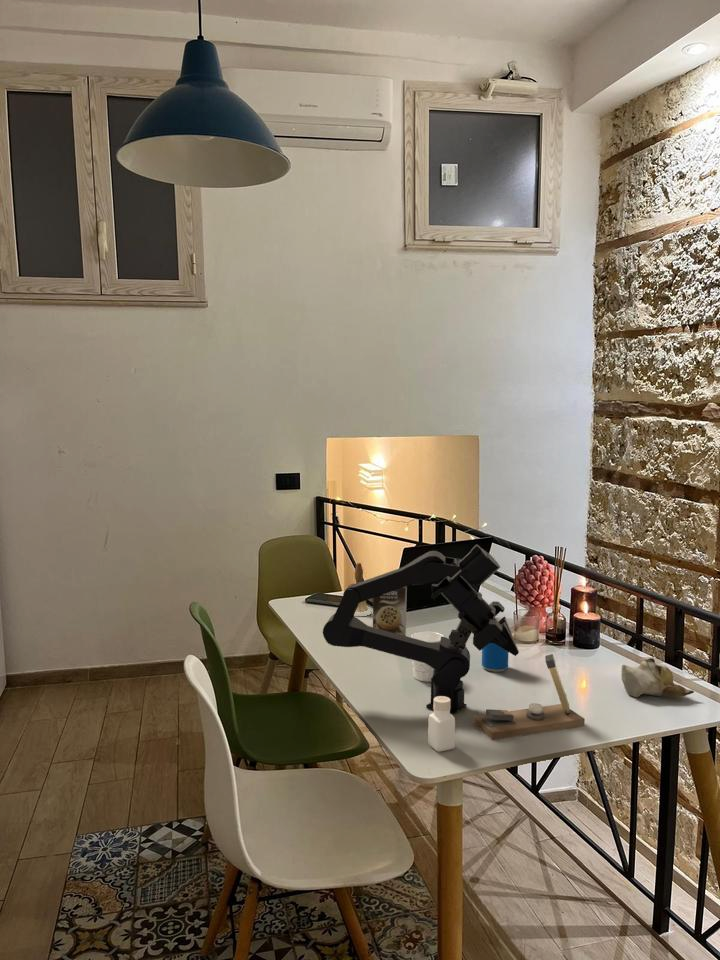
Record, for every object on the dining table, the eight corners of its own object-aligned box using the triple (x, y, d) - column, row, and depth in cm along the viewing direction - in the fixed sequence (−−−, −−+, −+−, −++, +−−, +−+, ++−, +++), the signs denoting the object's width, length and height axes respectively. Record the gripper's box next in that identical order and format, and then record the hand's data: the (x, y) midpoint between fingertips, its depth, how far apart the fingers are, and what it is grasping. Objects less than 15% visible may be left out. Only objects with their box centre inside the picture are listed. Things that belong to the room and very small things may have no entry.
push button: (526, 709, 153) (526, 704, 153) (537, 708, 154) (537, 702, 154) (533, 714, 151) (533, 709, 150) (544, 713, 151) (544, 707, 151)
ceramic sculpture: (612, 650, 172) (672, 651, 174) (608, 686, 173) (668, 686, 175) (634, 666, 161) (698, 667, 163) (630, 705, 162) (694, 705, 164)
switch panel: (473, 723, 152) (473, 713, 152) (561, 710, 159) (562, 700, 159) (492, 740, 145) (492, 729, 145) (584, 725, 151) (584, 715, 151)
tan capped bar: (564, 715, 153) (545, 661, 153) (563, 708, 157) (545, 655, 156) (572, 713, 153) (553, 659, 152) (571, 707, 156) (552, 653, 156)
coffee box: (371, 644, 203) (372, 586, 201) (374, 636, 209) (374, 580, 208) (405, 645, 202) (405, 587, 200) (406, 638, 208) (407, 581, 207)
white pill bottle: (437, 753, 139) (438, 704, 138) (427, 744, 143) (427, 697, 142) (455, 749, 141) (456, 701, 140) (444, 740, 144) (445, 693, 144)
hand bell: (372, 610, 237) (373, 560, 235) (369, 617, 229) (369, 566, 227) (347, 609, 238) (347, 560, 236) (343, 616, 230) (342, 565, 228)
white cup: (409, 671, 182) (410, 631, 181) (441, 671, 182) (442, 631, 182) (412, 683, 175) (412, 641, 174) (445, 683, 175) (446, 641, 174)
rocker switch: (485, 714, 150) (486, 708, 150) (505, 714, 152) (506, 709, 152) (491, 719, 147) (493, 713, 147) (512, 720, 149) (513, 714, 149)
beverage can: (489, 661, 189) (490, 615, 188) (512, 667, 185) (513, 620, 184) (476, 668, 184) (477, 621, 183) (500, 674, 180) (501, 626, 179)
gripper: (442, 612, 168) (491, 663, 167) (432, 637, 150) (486, 694, 149) (478, 579, 166) (528, 631, 164) (472, 601, 148) (528, 659, 146)
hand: (517, 654), depth 156 cm, fingers closed
